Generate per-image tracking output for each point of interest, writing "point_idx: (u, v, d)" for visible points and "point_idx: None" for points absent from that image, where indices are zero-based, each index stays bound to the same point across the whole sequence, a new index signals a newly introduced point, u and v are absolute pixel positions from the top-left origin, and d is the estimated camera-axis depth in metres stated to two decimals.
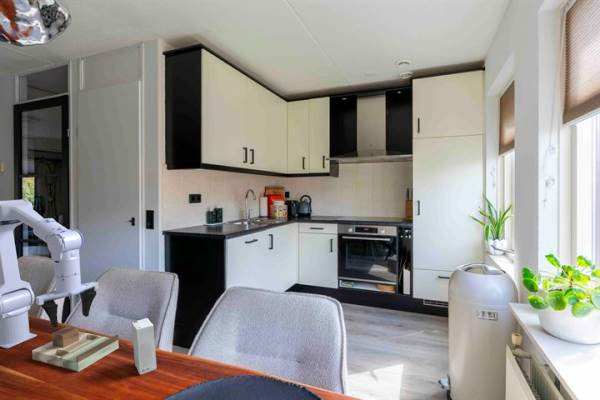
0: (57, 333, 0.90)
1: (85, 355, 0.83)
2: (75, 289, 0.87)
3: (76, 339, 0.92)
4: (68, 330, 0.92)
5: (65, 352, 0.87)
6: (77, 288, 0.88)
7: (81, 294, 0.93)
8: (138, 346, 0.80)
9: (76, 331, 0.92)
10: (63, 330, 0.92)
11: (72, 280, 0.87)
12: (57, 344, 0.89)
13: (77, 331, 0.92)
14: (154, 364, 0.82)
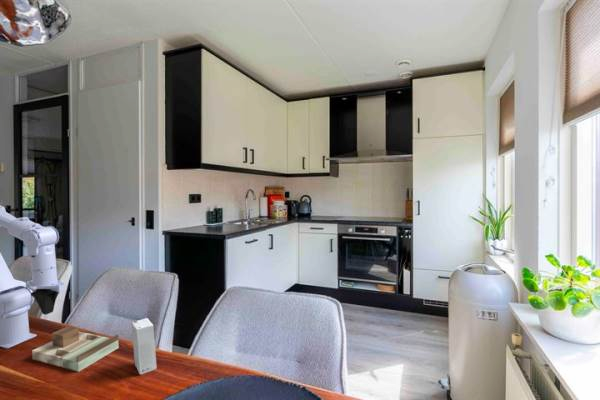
0: (57, 333, 0.90)
1: (85, 355, 0.83)
2: (35, 285, 0.90)
3: (76, 339, 0.92)
4: (68, 330, 0.92)
5: (65, 352, 0.87)
6: (37, 284, 0.90)
7: None
8: (138, 346, 0.80)
9: (76, 331, 0.92)
10: (63, 330, 0.92)
11: (33, 275, 0.90)
12: (57, 344, 0.89)
13: (77, 331, 0.92)
14: (154, 364, 0.82)
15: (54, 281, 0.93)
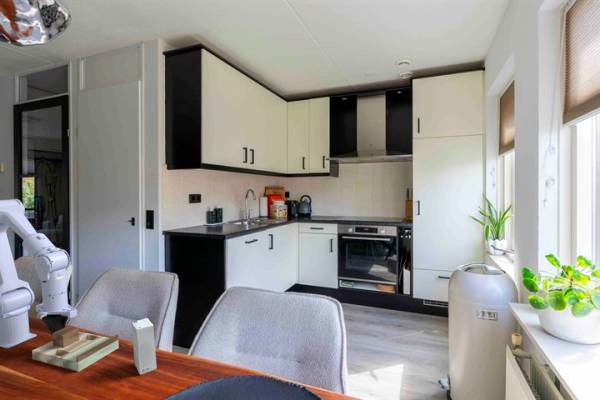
0: (57, 333, 0.90)
1: (85, 355, 0.83)
2: (46, 310, 0.89)
3: (76, 339, 0.92)
4: (68, 330, 0.92)
5: (65, 352, 0.87)
6: (48, 310, 0.89)
7: None
8: (138, 346, 0.80)
9: (76, 331, 0.92)
10: (63, 330, 0.92)
11: (44, 300, 0.89)
12: (57, 344, 0.89)
13: (77, 331, 0.92)
14: (154, 364, 0.82)
15: (65, 306, 0.92)
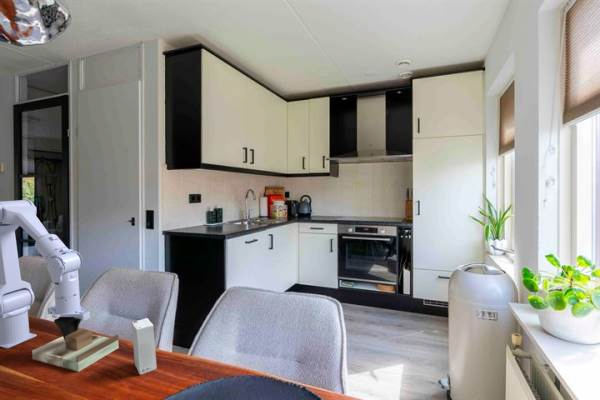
0: (70, 335, 0.88)
1: (85, 355, 0.83)
2: (59, 312, 0.87)
3: (89, 342, 0.90)
4: (81, 333, 0.90)
5: (65, 352, 0.87)
6: (61, 312, 0.87)
7: None
8: (138, 346, 0.80)
9: (89, 334, 0.90)
10: (76, 333, 0.90)
11: (56, 303, 0.87)
12: (70, 347, 0.88)
13: (90, 334, 0.91)
14: (154, 364, 0.82)
15: (77, 308, 0.90)
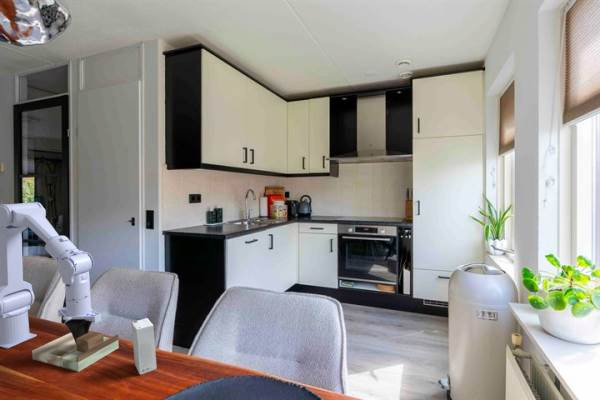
0: (81, 338, 0.87)
1: (85, 355, 0.83)
2: (70, 315, 0.86)
3: None
4: (93, 335, 0.89)
5: (65, 352, 0.87)
6: (72, 314, 0.86)
7: None
8: (138, 346, 0.80)
9: (101, 336, 0.89)
10: (87, 335, 0.89)
11: (68, 305, 0.86)
12: (82, 350, 0.86)
13: (101, 336, 0.89)
14: (154, 364, 0.82)
15: (88, 310, 0.89)
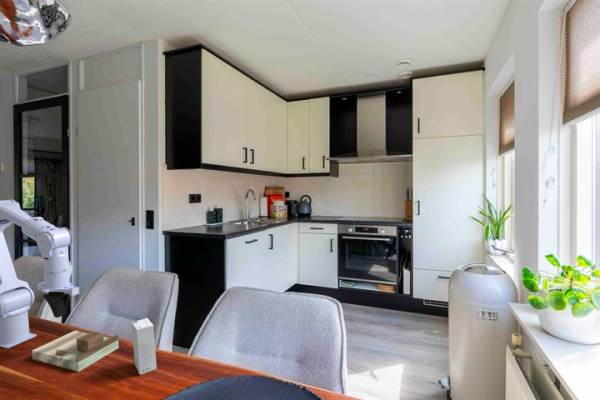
0: (81, 338, 0.87)
1: (85, 355, 0.83)
2: (48, 287, 0.88)
3: None
4: (93, 335, 0.89)
5: (65, 352, 0.87)
6: (50, 287, 0.88)
7: None
8: (138, 346, 0.80)
9: (101, 336, 0.89)
10: (87, 335, 0.89)
11: (46, 278, 0.88)
12: (82, 350, 0.86)
13: (101, 336, 0.89)
14: (154, 364, 0.82)
15: (67, 284, 0.91)
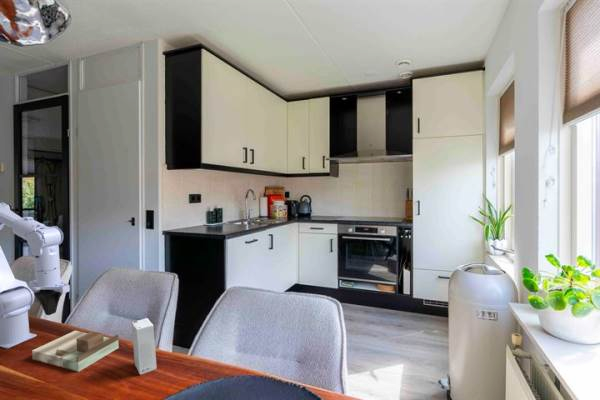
0: (81, 338, 0.87)
1: (85, 355, 0.83)
2: (39, 285, 0.89)
3: None
4: (93, 335, 0.89)
5: (65, 352, 0.87)
6: (41, 285, 0.89)
7: None
8: (138, 346, 0.80)
9: (101, 336, 0.89)
10: (87, 335, 0.89)
11: (37, 276, 0.89)
12: (82, 350, 0.86)
13: (101, 336, 0.89)
14: (154, 364, 0.82)
15: (58, 282, 0.92)
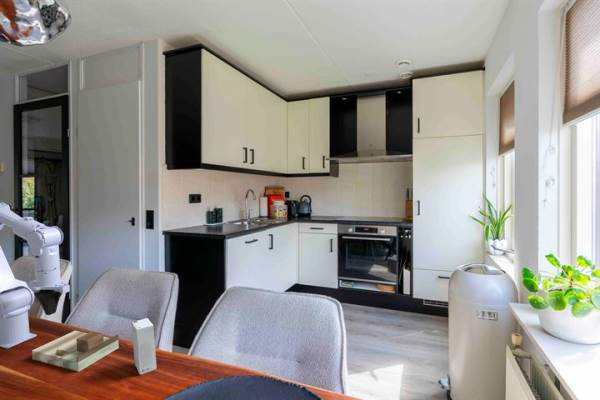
0: (81, 338, 0.87)
1: (85, 355, 0.83)
2: (39, 285, 0.89)
3: None
4: (93, 335, 0.89)
5: (65, 352, 0.87)
6: (41, 285, 0.89)
7: None
8: (138, 346, 0.80)
9: (101, 336, 0.89)
10: (87, 335, 0.89)
11: (37, 276, 0.89)
12: (82, 350, 0.86)
13: (101, 336, 0.89)
14: (154, 364, 0.82)
15: (58, 282, 0.92)
